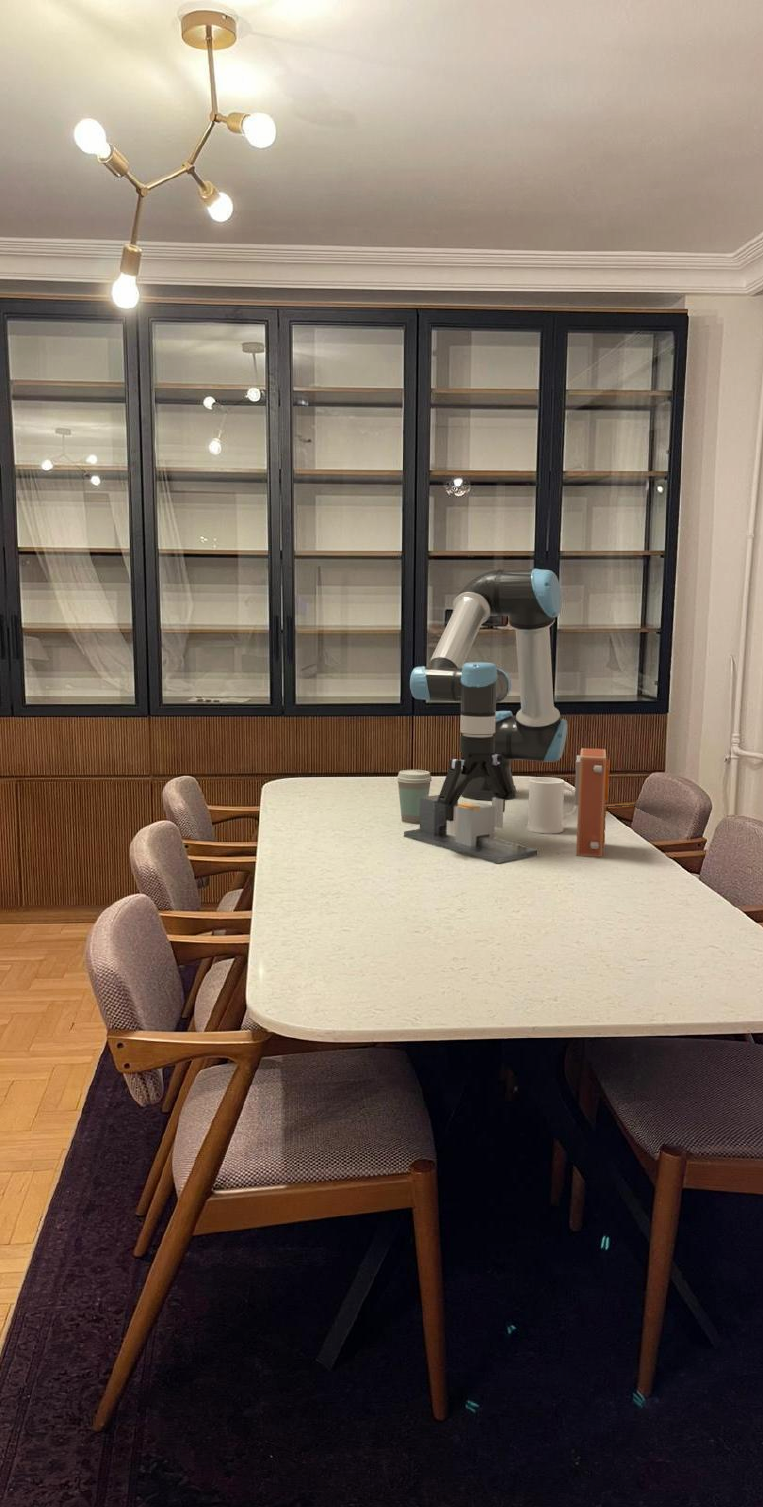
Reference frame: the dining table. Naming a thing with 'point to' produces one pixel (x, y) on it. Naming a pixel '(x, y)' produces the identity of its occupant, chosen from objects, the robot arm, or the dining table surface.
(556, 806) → the mug
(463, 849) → the rail board
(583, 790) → the control panel
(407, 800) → the coffee cup
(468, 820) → the module
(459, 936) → the dining table surface
